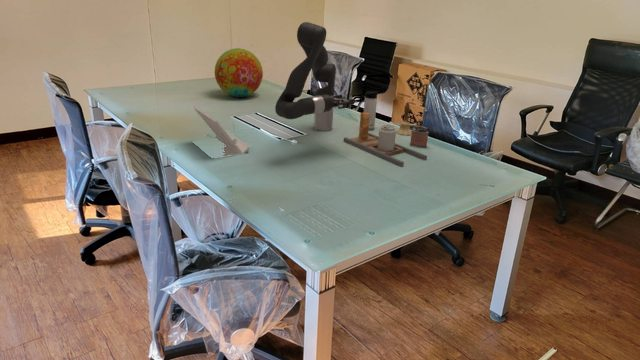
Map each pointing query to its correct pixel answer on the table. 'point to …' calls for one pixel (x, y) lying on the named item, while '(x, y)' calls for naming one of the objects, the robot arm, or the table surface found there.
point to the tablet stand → (224, 136)
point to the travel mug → (371, 107)
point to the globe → (238, 72)
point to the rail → (382, 155)
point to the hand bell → (405, 123)
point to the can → (386, 138)
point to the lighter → (419, 137)
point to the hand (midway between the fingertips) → (347, 99)
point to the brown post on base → (370, 140)
